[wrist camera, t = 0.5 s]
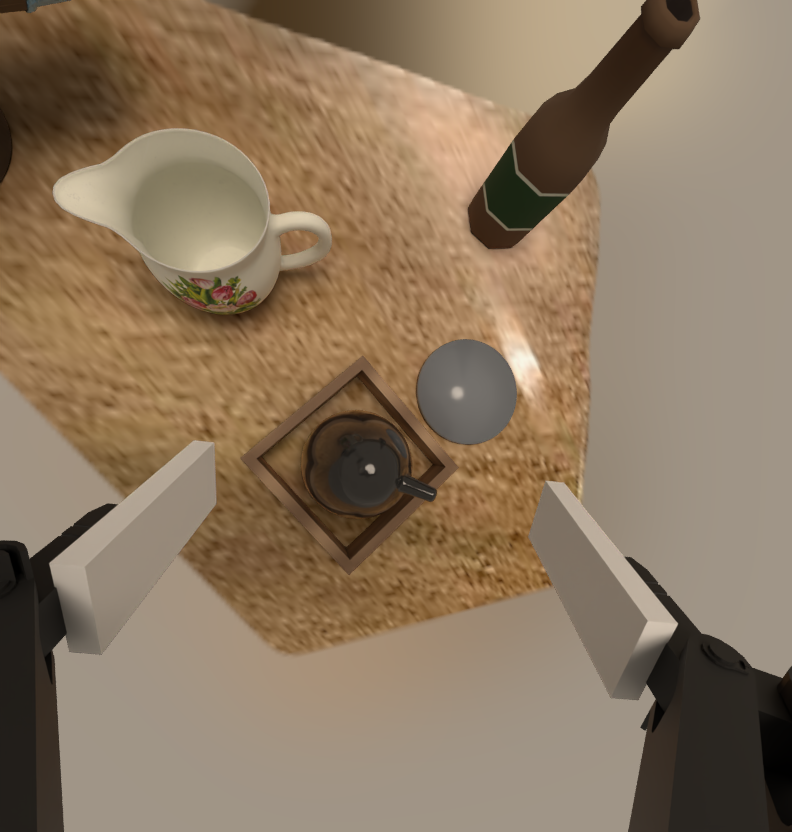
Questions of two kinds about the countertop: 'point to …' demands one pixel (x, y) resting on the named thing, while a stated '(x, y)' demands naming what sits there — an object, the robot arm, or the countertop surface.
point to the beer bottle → (574, 128)
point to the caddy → (387, 520)
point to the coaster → (466, 392)
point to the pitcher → (193, 217)
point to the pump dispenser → (359, 465)
